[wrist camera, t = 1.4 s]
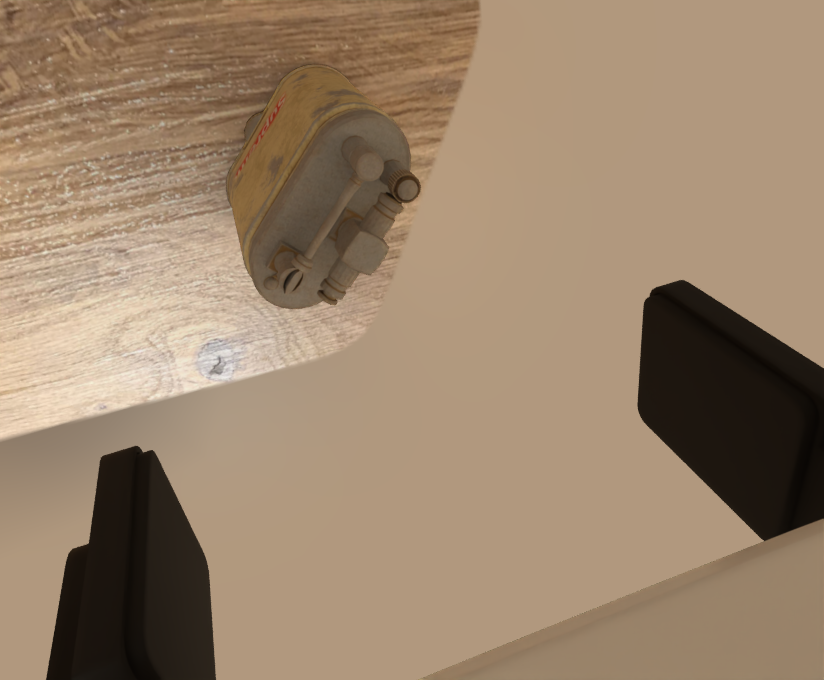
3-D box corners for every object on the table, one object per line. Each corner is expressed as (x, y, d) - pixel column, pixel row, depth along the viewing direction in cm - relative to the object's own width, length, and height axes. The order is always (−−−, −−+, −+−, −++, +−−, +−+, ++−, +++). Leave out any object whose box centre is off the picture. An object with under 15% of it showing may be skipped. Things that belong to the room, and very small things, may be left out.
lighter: (284, 240, 28) (328, 361, 20) (202, 197, 27) (216, 312, 18) (374, 96, 27) (463, 166, 18) (293, 39, 25) (353, 89, 16)
